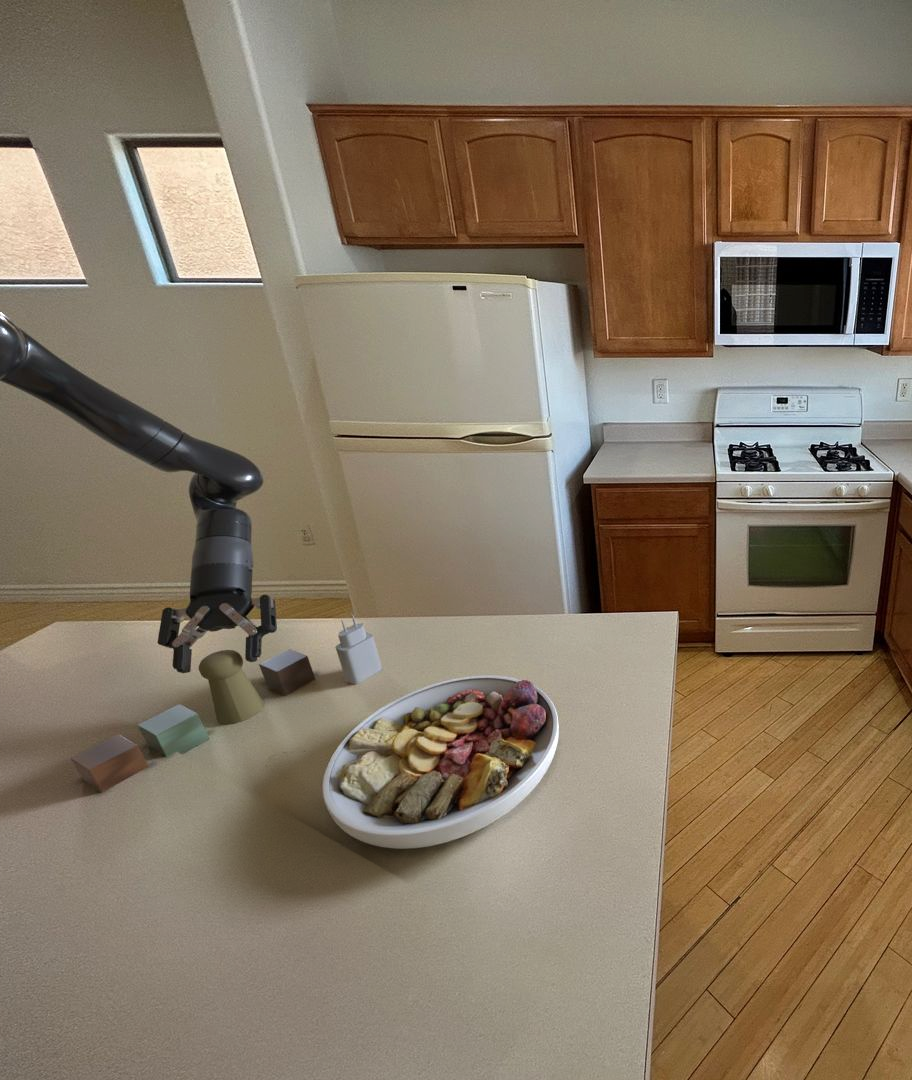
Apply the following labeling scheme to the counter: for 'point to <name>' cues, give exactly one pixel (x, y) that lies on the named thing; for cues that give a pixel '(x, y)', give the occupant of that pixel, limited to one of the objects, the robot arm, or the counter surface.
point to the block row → (177, 728)
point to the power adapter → (357, 653)
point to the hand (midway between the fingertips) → (218, 666)
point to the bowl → (441, 761)
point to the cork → (230, 687)
